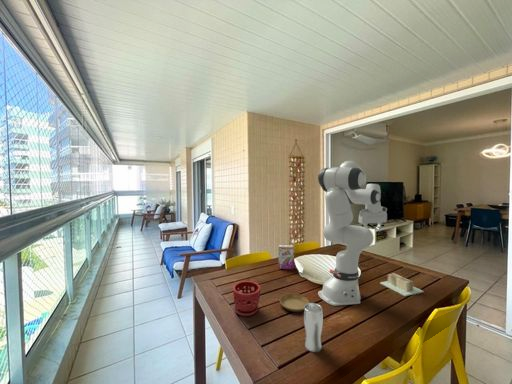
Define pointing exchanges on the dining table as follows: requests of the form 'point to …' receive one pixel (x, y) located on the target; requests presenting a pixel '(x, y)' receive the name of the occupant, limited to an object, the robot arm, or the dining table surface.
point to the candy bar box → (286, 257)
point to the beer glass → (313, 326)
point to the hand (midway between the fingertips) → (372, 229)
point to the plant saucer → (293, 302)
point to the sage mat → (404, 293)
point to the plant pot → (246, 298)
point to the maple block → (400, 282)
